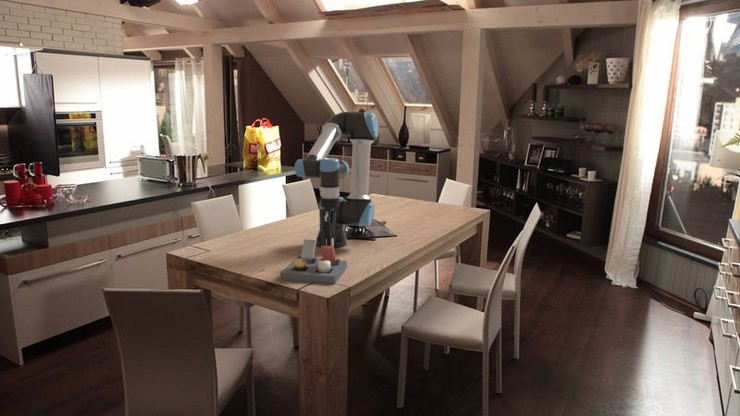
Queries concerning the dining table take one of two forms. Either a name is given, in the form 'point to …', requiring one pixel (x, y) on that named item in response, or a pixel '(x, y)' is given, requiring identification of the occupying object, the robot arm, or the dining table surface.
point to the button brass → (299, 264)
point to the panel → (314, 272)
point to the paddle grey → (308, 250)
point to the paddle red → (328, 253)
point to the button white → (324, 266)
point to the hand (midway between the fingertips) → (329, 253)
